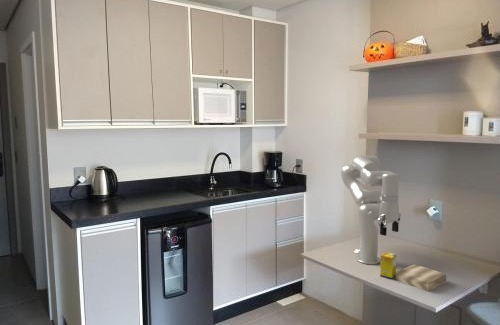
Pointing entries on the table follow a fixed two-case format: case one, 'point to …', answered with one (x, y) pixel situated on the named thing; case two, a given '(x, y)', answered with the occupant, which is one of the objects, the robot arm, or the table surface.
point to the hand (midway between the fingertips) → (389, 233)
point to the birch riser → (421, 277)
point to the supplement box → (388, 265)
